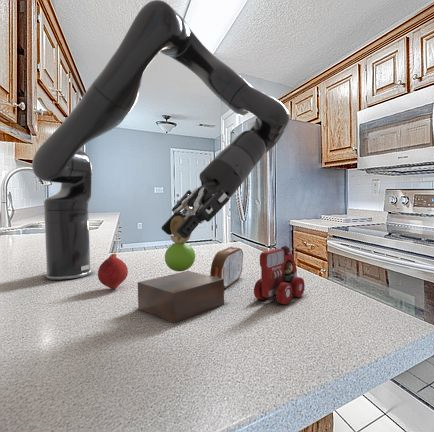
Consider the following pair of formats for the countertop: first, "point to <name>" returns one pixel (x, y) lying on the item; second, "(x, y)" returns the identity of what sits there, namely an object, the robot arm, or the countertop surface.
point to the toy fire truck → (278, 276)
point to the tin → (227, 265)
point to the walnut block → (180, 295)
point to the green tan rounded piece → (179, 248)
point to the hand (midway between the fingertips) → (172, 233)
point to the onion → (112, 272)
